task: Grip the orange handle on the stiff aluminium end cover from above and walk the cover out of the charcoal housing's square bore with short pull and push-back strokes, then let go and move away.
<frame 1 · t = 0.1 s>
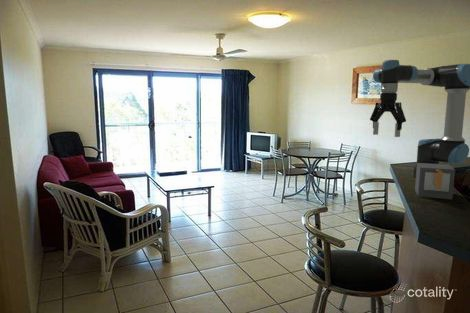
hand: (386, 135, 169), 28 cm above the countertop, tool pointing down, fingers open, 13 cm apart
housing: (434, 196, 160), on the countertop
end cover: (435, 178, 158), point 9 cm above the countertop, slide at 0.0 cm
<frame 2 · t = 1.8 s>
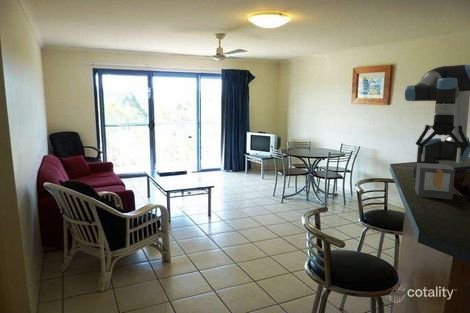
hand: (440, 161, 151), 18 cm above the countertop, tool pointing down, fingers open, 13 cm apart
nothing on the countertop moved.
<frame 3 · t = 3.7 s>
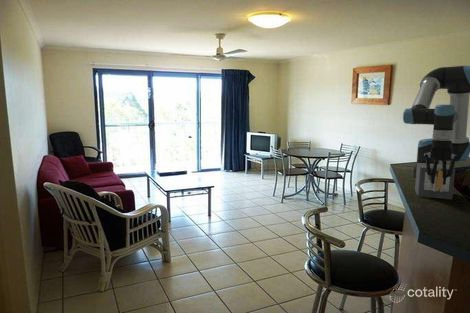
hand: (437, 191, 153), 4 cm above the countertop, tool pointing down, fingers closed on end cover, 2 cm apart
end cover: (435, 178, 158), point 9 cm above the countertop, slide at 0.0 cm, touching gripper
everything else where it was.
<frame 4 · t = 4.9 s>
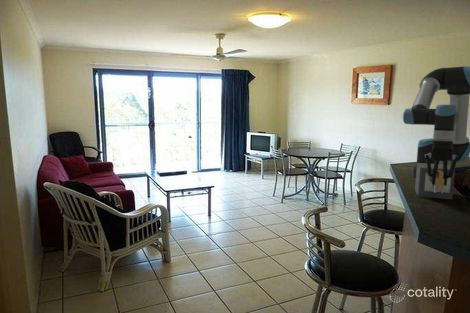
hand: (438, 192, 151), 4 cm above the countertop, tool pointing down, fingers closed on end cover, 2 cm apart
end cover: (436, 179, 157), point 9 cm above the countertop, slide at 2.1 cm, touching gripper
everything else where it was.
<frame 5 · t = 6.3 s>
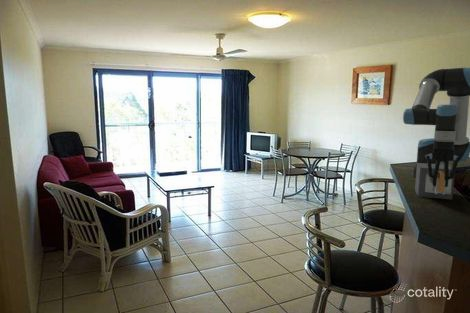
hand: (439, 193, 149), 4 cm above the countertop, tool pointing down, fingers closed on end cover, 2 cm apart
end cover: (437, 180, 154), point 9 cm above the countertop, slide at 4.7 cm, touching gripper
everything else where it was.
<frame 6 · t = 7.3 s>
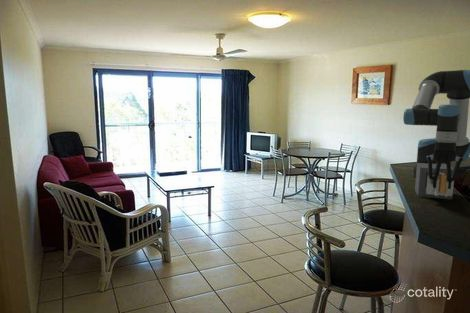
hand: (440, 195, 145), 5 cm above the countertop, tool pointing down, fingers open, 3 cm apart
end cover: (438, 182, 151), point 9 cm above the countertop, slide at 8.4 cm
everything else where it was.
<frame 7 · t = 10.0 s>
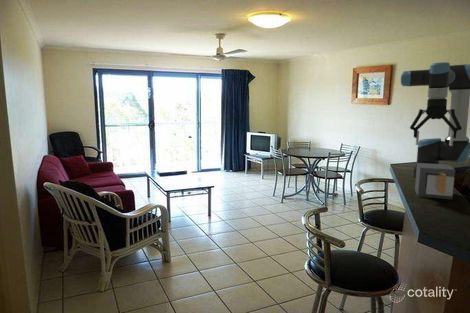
hand: (433, 145, 155), 25 cm above the countertop, tool pointing down, fingers open, 13 cm apart
nothing on the countertop moved.
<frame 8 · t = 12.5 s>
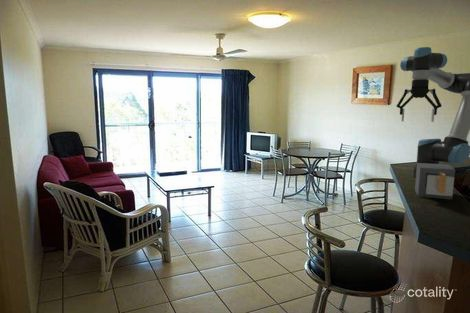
hand: (417, 121, 174), 35 cm above the countertop, tool pointing down, fingers open, 13 cm apart
nothing on the countertop moved.
at the end: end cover slide at 8.4 cm; the gripper is holding nothing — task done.
